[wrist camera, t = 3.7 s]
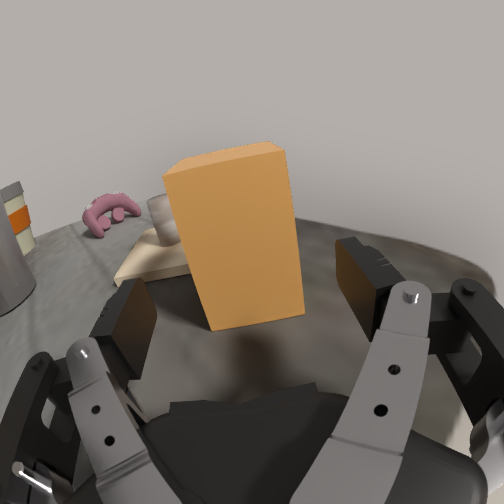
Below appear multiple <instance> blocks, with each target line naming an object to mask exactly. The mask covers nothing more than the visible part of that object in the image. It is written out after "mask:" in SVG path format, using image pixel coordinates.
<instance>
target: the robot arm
mask: <svg viewBox="0 0 504 504" xmlns="http://www.w3.org/2000/svg"><path fill="white" fill-rule="evenodd" d="M335 251H336V276H337V281H338V285H339V287H340V289H341V291H342V293H343V294H344V296H345V298H346V300H347V302H348V303H349V305H350V307H351V309H352V310H353V312H354V314H355V316H356V318H357V320H358V321H359V323H360V325H361V327H362V329H363V331H364V333H365V334H366V336H367V338H368V340H369V342H372V344H371V347H370V349H369V352H368V355H367V357H366V360H365V363H364V365H363V368H362V370H361V373H360V375H359V377H358V380H357V382H356V385H355V387H354V389H353V391H352V394H351V396H350V397H348V396H345V395H341V394H336V393H327V392H318V391H317V388H316V384H315V383H310V384H306V385H301V386H297V387H292V388H287V389H281V390H277V391H275V392H272V393H270V394H267V395H265V396H262V397H259V398H257V399H254V400H251V401H249V402H246V403H242V404H232V403H223V402H214V401H207V400H199V401H184V402H170V410H169V413H166V414H163V415H160V416H158V417H156V418H154V419H152V420H151V421H150V420H149V418H148V417H147V415H146V413H145V412H144V410H143V409H142V407H141V405H140V404H139V402H138V400H137V399H136V397H135V395H134V394H133V392H132V390H131V389H130V387H129V386H128V381H129V380H140V379H141V375H142V371H143V367H144V363H145V359H146V356H147V352H148V348H149V345H150V341H151V338H152V334H153V331H154V327H155V324H156V320H157V313H156V309H155V306H154V304H153V301H152V299H151V297H150V295H149V292H148V290H147V288H146V285H145V283H144V281H143V279H142V278H141V277H137V278H132V279H126V280H123V281H122V283H121V285H120V287H119V289H118V290H117V292H116V293H115V294H114V295H113V296H112V297H111V298H110V299H109V300H108V301H107V303H106V304H105V306H104V308H103V311H102V312H101V314H100V317H99V318H98V320H97V321H96V323H95V325H94V327H93V329H92V331H91V333H90V335H89V337H86V338H82V339H80V340H78V341H76V342H75V343H74V344H73V345H72V346H71V347H70V348H69V349H68V351H67V354H66V357H65V358H62V359H59V360H56V361H54V360H53V358H52V357H51V356H50V354H49V353H47V352H39V353H37V354H36V355H34V356H33V357H32V358H31V359H30V360H29V361H28V363H27V364H26V366H25V368H24V370H23V373H22V375H21V377H20V379H19V381H18V383H17V385H16V387H15V390H14V392H13V394H12V396H11V399H10V401H9V404H8V406H7V408H6V411H5V413H4V416H3V419H2V421H1V424H0V504H486V503H487V497H488V495H489V494H491V493H492V492H494V491H495V490H496V489H498V488H499V487H501V486H502V485H503V484H504V308H503V307H502V306H501V305H500V304H499V303H498V302H497V300H496V299H495V298H494V297H493V296H492V295H491V294H490V293H489V292H488V291H487V290H486V289H485V288H484V287H483V286H482V285H481V284H480V283H479V282H477V281H475V280H472V279H467V278H462V279H458V280H456V281H454V282H453V284H452V287H451V291H450V293H431V292H430V290H429V289H428V288H427V287H426V286H425V285H423V284H421V283H418V282H414V281H406V280H405V279H404V278H403V276H402V275H401V274H400V273H399V272H398V271H397V270H396V269H395V268H394V267H393V266H392V264H390V262H389V261H388V260H387V259H385V257H384V256H383V255H382V254H381V253H380V252H379V251H378V250H376V249H374V248H372V247H370V246H363V245H362V244H361V243H360V242H359V241H358V239H357V238H356V237H354V236H352V237H347V238H342V239H337V240H336V243H335ZM35 285H36V280H35V278H34V276H33V274H32V272H31V270H30V268H29V266H28V264H27V262H26V260H25V257H24V255H23V253H22V250H21V248H20V246H19V243H18V241H17V239H16V236H15V234H14V231H13V228H12V226H11V223H10V220H9V218H8V215H7V212H6V209H5V206H4V203H3V200H2V197H1V193H0V316H1V315H3V314H5V313H7V312H9V311H10V310H12V309H13V308H15V307H16V306H17V305H18V304H20V303H21V302H22V301H23V300H24V299H25V298H26V297H27V296H28V295H29V294H30V293H31V292H32V290H33V289H34V287H35ZM471 336H473V338H474V339H475V341H476V342H477V343H478V345H479V346H480V348H481V351H482V357H481V355H480V354H479V352H478V351H477V349H476V348H475V346H474V345H473V343H472V342H471V340H470V339H471ZM430 354H436V355H437V357H438V359H439V361H440V362H441V364H442V366H443V368H444V370H445V371H446V373H447V375H448V377H449V379H450V381H451V382H452V384H453V386H454V388H455V390H456V392H457V394H458V396H459V398H460V400H461V402H462V404H463V406H464V408H465V410H466V412H467V414H468V416H469V418H470V420H471V423H472V425H473V429H472V431H471V434H470V448H469V451H470V453H471V454H472V456H471V458H470V457H469V456H466V455H464V454H462V453H459V452H457V451H455V450H453V449H451V448H449V447H446V446H444V445H442V444H440V443H438V442H436V441H434V440H432V439H430V438H428V437H425V436H423V435H421V434H419V433H417V432H415V431H413V430H412V429H411V426H412V423H413V419H414V416H415V412H416V408H417V404H418V400H419V396H420V392H421V387H422V383H423V378H424V373H425V367H426V362H427V356H428V355H430ZM47 398H48V399H49V400H50V401H51V402H52V403H53V404H54V405H55V406H56V409H55V412H54V415H53V418H52V421H51V424H50V428H49V429H48V428H47V427H46V426H45V425H44V424H43V422H42V419H41V413H42V410H43V407H44V405H45V402H46V399H47ZM81 439H82V442H83V445H84V447H85V450H86V453H87V455H88V458H89V460H90V462H91V465H92V467H93V469H94V472H95V473H94V474H93V475H92V476H91V477H90V478H88V479H87V480H86V481H85V482H84V483H83V484H82V485H81V486H80V487H79V488H78V489H77V490H76V491H74V492H73V488H72V483H73V477H74V471H75V465H76V460H77V455H78V450H79V445H80V440H81Z"/></svg>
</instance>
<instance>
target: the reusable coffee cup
mask: <svg viewBox="0 0 504 504" xmlns="http://www.w3.org/2000/svg"><path fill="white" fill-rule="evenodd" d="M23 192H24V191H23V189H22V186H21V184H20V182H19V181H18V182H16V183H13V184H11V185H9V186H7V187H5V188H3V189H1V190H0V193H1V197H2V200H3V203H4V206H5V209H6V212H7V215H8V218H9V220H10V223H11V226H12V228H13V231H14V234H15V236H16V239H17V241H18V243H19V246H20V248H21V250H22V253H23V255H25V254H27V253H28V252H29V251H31V250H32V249H33V248H34V247H35V242H34V238H33V235H32V231H31V227H30V223H31V221H30V217H29V212H28V208H27V205H25V202H24V197H23Z"/></svg>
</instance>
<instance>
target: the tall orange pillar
mask: <svg viewBox="0 0 504 504" xmlns="http://www.w3.org/2000/svg"><path fill="white" fill-rule="evenodd" d="M162 177H163V181H164V185H165V188H166V192H167V196H168V199H169V203H170V206H171V210H172V213H173V217H174V220H175V223H176V227H177V230H178V233H179V237H180V240H181V243H182V246H183V249H184V253H185V256H186V259H187V262H188V265H189V268H190V271H191V274H192V277H193V280H194V283H195V286H196V289H197V292H198V295H199V297H200V300H201V303H202V306H203V309H204V311H205V314H206V317H207V320H208V322H209V325H210V328H211V330H212V331H217V330H224V329H230V328H236V327H241V326H247V325H253V324H258V323H263V322H269V321H274V320H279V319H284V318H289V317H293V316H298V315H303V314H305V309H304V298H303V288H302V278H301V269H300V260H299V251H298V242H297V234H296V226H295V218H294V211H293V204H292V196H291V189H290V182H289V176H288V169H287V163H286V157H285V151H284V150H283V149H282V148H280V147H278V146H276V145H274V144H273V143H271V142H269V141H267V142H261V143H255V144H250V145H244V146H239V147H234V148H229V149H224V150H219V151H215V152H210V153H206V154H201V155H197V156H193V157H189V158H185V159H182V160H181V161H180V162H178V163H177V164H176V165H175V166H173V167H172V168H171V169H170V170H169V171H167V172H166V173H165V174H164V175H163V176H162Z"/></svg>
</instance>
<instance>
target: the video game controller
mask: <svg viewBox="0 0 504 504" xmlns="http://www.w3.org/2000/svg"><path fill="white" fill-rule="evenodd" d="M108 211H112V214H111V217H112V220H113V221H114V222H116V223H120V222H122V220H123V219H124V211H127V212H129V213H130V214H132V215H134V216H140V215H141V210H140V207H139V206H138V205H137V204H136V203H135V202H134V201H132V200H131V199H130V198H129V197H128V196H126V195H125V194H124V193H120V192H119V191H116V192H115V193H112V194H105V195H103V196H100V197H98V198H97V199H95V200H94V201H93V202H92V203H91V204H89V205H88V206H87V207H86V209H85V211H84V213H83V216H82V219H83V222H84V224H85V225H87V226H88V228H89V229H90V230H91V232H92V233H93V234H94V235H96V236H97V237H99V238H103V237H104V231H106V230H107V229H108V228H109V227H110V225H111V221H110V219H109V218H108V217H106V216H103V214H104V213H106V212H108Z"/></svg>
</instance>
